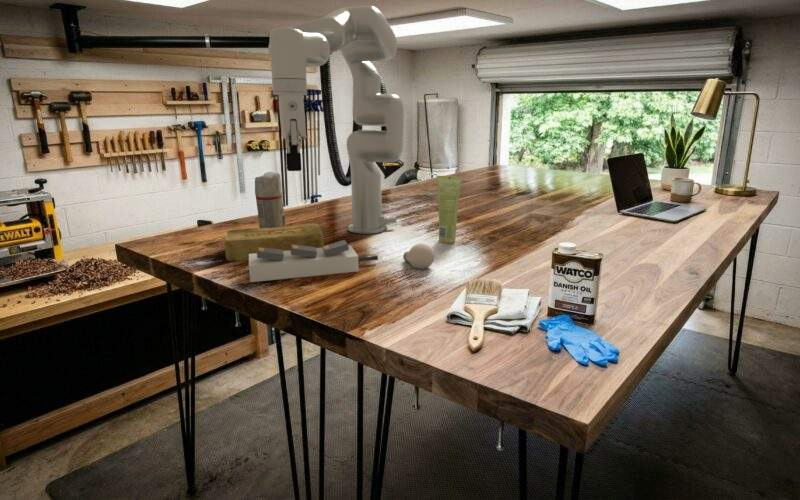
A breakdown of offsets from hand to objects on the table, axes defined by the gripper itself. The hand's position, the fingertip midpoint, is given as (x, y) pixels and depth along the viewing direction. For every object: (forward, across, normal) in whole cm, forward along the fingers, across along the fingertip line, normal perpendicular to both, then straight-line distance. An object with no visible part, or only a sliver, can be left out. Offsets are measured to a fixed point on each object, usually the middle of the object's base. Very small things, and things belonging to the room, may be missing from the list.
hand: (294, 170), depth 118 cm
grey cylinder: (+25, +37, +5) cm, 45 cm away
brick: (+26, +21, +5) cm, 33 cm away
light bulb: (+25, -3, -30) cm, 39 cm away
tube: (+24, +16, -45) cm, 54 cm away
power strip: (+25, +2, -4) cm, 26 cm away
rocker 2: (+20, +1, -1) cm, 20 cm away
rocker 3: (+20, +1, -9) cm, 22 cm away
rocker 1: (+20, +1, +7) cm, 21 cm away
